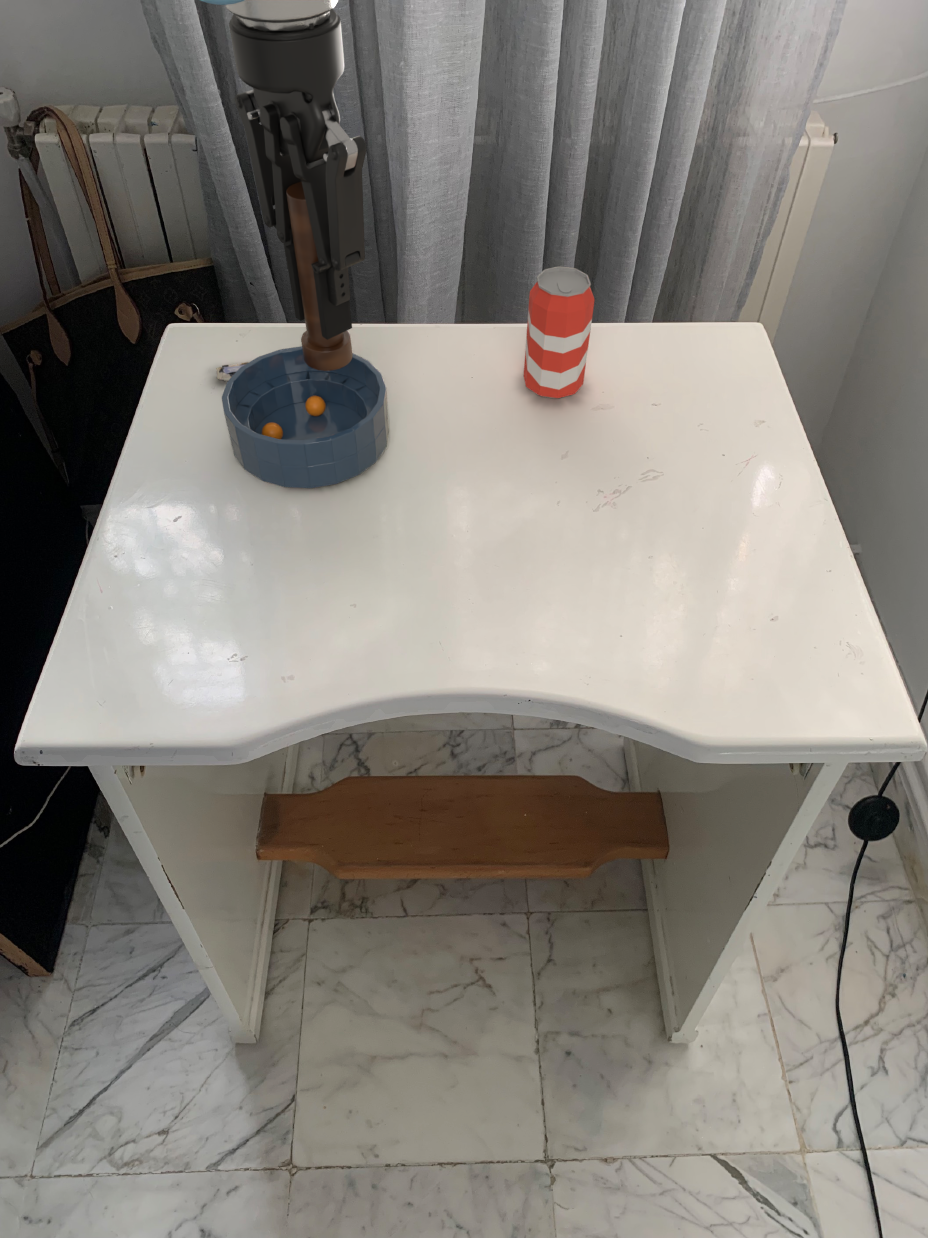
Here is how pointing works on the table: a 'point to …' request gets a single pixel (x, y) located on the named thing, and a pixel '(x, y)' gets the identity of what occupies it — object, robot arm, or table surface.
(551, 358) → the beverage can
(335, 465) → the bowl
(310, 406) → the bead
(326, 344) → the brown cylinder
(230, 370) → the granola bar
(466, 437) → the table surface
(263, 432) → the bead
